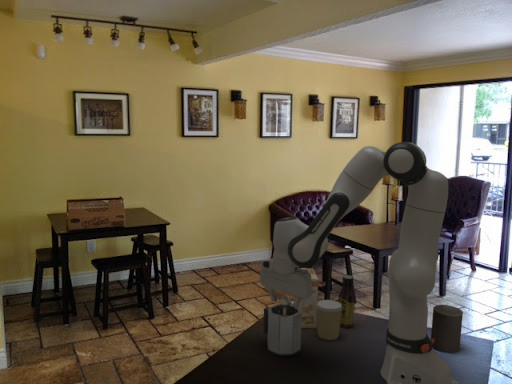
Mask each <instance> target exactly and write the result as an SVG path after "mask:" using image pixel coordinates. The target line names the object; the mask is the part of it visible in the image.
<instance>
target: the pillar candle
mask: <svg viewBox="0 0 512 384" xmlns="http://www.w3.org/2000/svg"><path fill="white" fill-rule="evenodd" d="M432 309H433V311H432V317H431V318H432V319H431V322H432V323H431V331H430V333H431V334H430V335H431V336H430V340H432V339H433V338H434V343H433V344H432V349H433V350H436V351H438V352H441V353H444V354H445V353H446V354H455V353H458V352H459V351H460V348H461V338H462V337H461V336H462V329H463V328H462V326H463V315H464V311H463V310H462V309H460V308H459V307H456V306H453V305H450V304H449V305H448V304H437V305H434V306H433V308H432Z"/></svg>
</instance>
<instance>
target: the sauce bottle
mask: <svg viewBox="0 0 512 384" xmlns="http://www.w3.org/2000/svg"><path fill="white" fill-rule="evenodd" d="M353 283H354V277H353V275H349V274H344V275H343V276H342V286H341V289H340V291H339V294H338V301H337V302H339V303H340V304H341V306H342V311H341V321H340V327H341V328H344V329H347V328H348V329H349V328H352V327H353V325H354V319H355V318H354V316H355V305H356V304H355V298H356V294H355V291H354V289H353V287H354V286H353Z"/></svg>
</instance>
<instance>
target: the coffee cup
mask: <svg viewBox="0 0 512 384" xmlns="http://www.w3.org/2000/svg"><path fill="white" fill-rule="evenodd" d="M316 307H317V328H316V330H317V337H319V338H320V339H323V340H326V341H332V340H333V341H334V340H337V339H339V336H340V329H341V328H340V321H341V311H342V306H341V304H340V303H339V302H338V301H337V300H333V299H321V300H319V301H317V305H316Z"/></svg>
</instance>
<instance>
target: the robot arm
mask: <svg viewBox="0 0 512 384" xmlns="http://www.w3.org/2000/svg"><path fill="white" fill-rule="evenodd" d="M386 176H389V177H391V178H393V179H395V180H397V181H399V182H401V183H403V184H404V185H406V186H407V187H408V193H407V197H406V202H405V206H404V210H403V215H402V220H401V224H400V230H399V241H398V248H396V249H395V250H394V251H393V252H392V254H391V256H390V258H389V263H388V264H389V266H388V267H389V268H388V271H389V272H388V276H389V277H388V284H389V285H388V293H389V294H388V295H389V297H388V298H389V300H388V301H389V306H388V307H389V311H388V327H387V329H386V337H385V347H386V351H385V355H384V359H383V363H382V367H381V369H380V375H381V377H382V378H383V379H384V380H385V381H386V384H460V383H459V381H457V380H456V379H454V378H453V377H452V376H453V375H452V370H451V366H450V365H449V364H448V362H447V361H446V360H444V358H442V356H440V355H439V354H438V353H437V351H435V349H434V348H433V347H432V344H433V343H434V338H433V339H432V340H431V337H429V335H428V333H427V332H428V331H427V329H428V318H429V317H428V316H429V307H428V296H429V295H430V294H431V293H432V292H433V290H434V288H435V286H436V272H437V264H438V254H439V242H440V237H441V231H442V227H443V222H444V219H445V214H446V210H447V204H448V199H449V196H448V195H449V180H448V177H446V175H444V174H443V173H442V172H439V171H437V170H433V169H430V168H429V167H428V166H427V156H426V153H425V152H424V151H423V149H422V148H421V147H420V146H419V145H417V144H415V143H413V142H409V141H407V142H406V141H399V142H396V143H393V144H391V146H390V147H389V148H388V149H387V150H386V151H384V150H382V149H380V148H378V147H376V146H372V145H371V146H370V145H367V146H363V147H362V148H360V150H358V151H357V153H356V154H354V156H353V157H352V158H351V159H350V160H349V162H348V163H346V165H345V166H344V168H343V169H342V171H341V172H340V173H339V175H338V177H337V179H336V181H335V182H334V184H333V186H332V188H331V191H330V193H329V195H328V197H327V199H326V201H325V203H324V205H323V206H322V208H321V209H320V211H319V212H318V213H317V215H316V216H315V217H314V219H313V220H312V221H311V223H310V224H309V225H308V224H306V223H304V222H303V221H301V220H300V219H299V218H298V217H296V216H287V217H283V218H279V219H278V220H277V221H276V222H275V223H274V228H273V237H272V239H273V240H272V244H273V249H274V250H273V254H272V257H270V258H269V257H268V258H266V259H263V260H261V261H260V265H261V267H260V273H259V283H260V285H261V286H262V287H265V288H268V293H269V295H270V300H271V301H272V302H277V301H278V295H277V294H276V292H275V291H278V292H281V293H284V294H288V295H291V296H294V298H295V301H294V302H292V305H293V308H295V309H298V308H299V303H300V301H301V300H302V298H303V299H306V298H309V297H310V296H311V295H312V283H311V274H310V273H309V272H308V271H307V270H303V269H300V268H311V267H312V266H314V265H315V264H316V263H317V262H318V261H319V259H320V258H321V257H322V256H323V255H324V254H325V252H326V251H327V250H328V247H329V238H328V236H329V235H330V234H331V232H332V231H333V230H334V228H335V227H336V226H337V224H338V223H339V222H340V221H341V220H342V219H343V218H344V217H345V216H346V215H348V214H349V213H350V212H352V211H353V210H354V209H356V208H357V207H359V206H360V205H361V204H362V203H363V202H364V201H365V200H366V199H367V198H368V197H369V196H370V195H371V193H372V192H373V191H374V190H375V188H376V186H377V185H379V182H380V181H381V180H382V179H384V177H386ZM296 299H297V300H296Z"/></svg>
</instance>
